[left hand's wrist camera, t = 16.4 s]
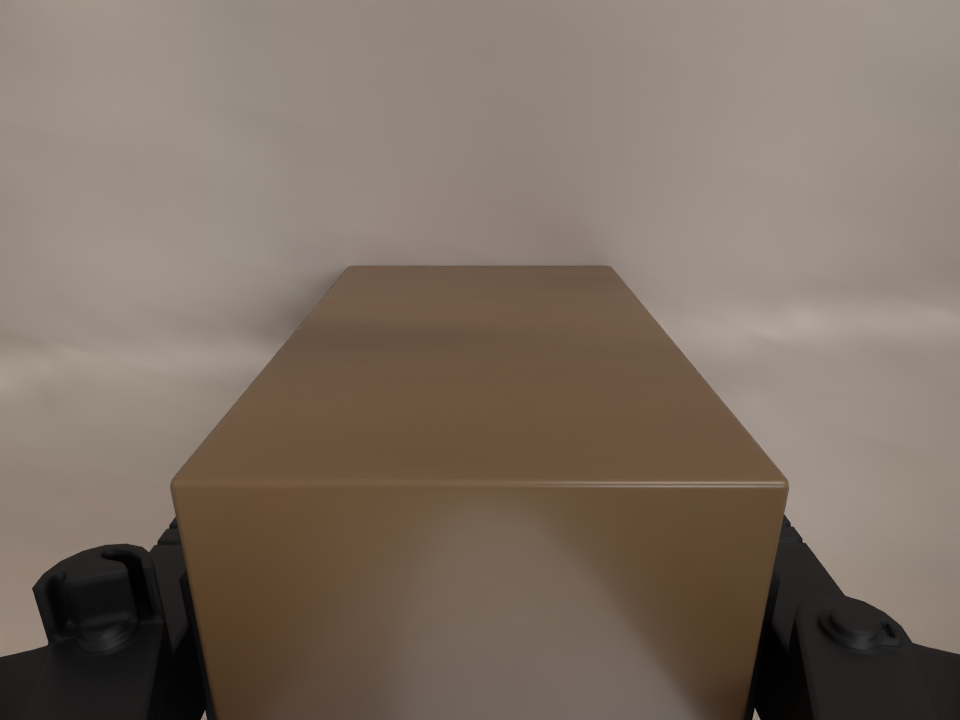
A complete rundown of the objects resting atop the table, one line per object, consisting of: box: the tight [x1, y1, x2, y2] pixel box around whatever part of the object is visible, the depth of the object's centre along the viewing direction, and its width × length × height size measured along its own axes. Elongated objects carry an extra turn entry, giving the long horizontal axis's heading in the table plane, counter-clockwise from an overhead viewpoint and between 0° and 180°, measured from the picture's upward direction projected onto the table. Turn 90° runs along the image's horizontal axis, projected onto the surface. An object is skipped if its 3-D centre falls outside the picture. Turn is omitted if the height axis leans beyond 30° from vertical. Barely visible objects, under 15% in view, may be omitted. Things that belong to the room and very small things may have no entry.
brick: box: [170, 266, 789, 720], centre depth 12 cm, size 7×6×9 cm
